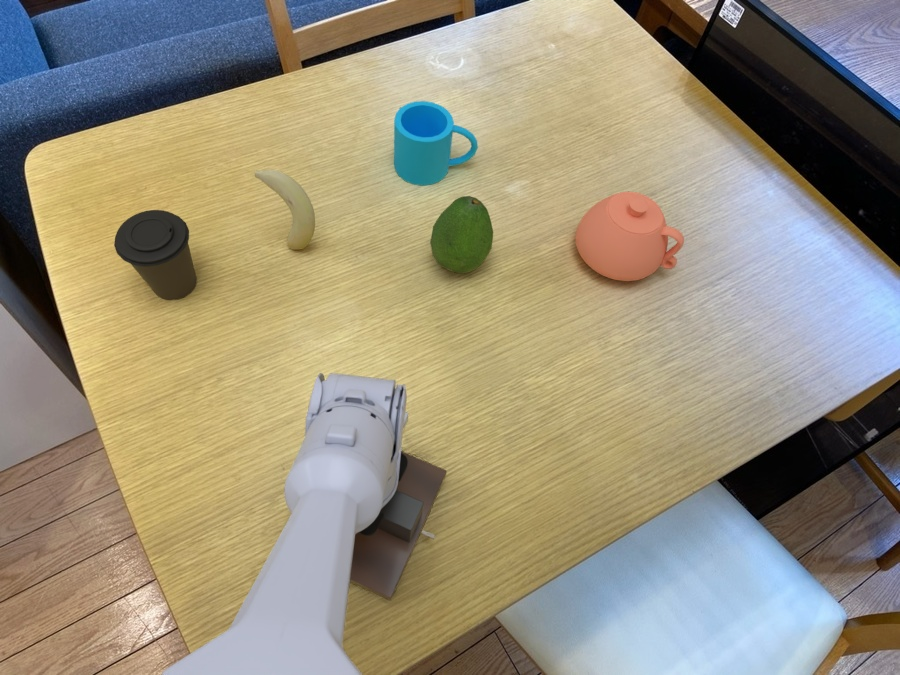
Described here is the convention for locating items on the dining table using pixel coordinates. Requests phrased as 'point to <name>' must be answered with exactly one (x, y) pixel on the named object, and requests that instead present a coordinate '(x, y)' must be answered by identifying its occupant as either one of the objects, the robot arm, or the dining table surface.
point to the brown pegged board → (387, 554)
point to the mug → (426, 143)
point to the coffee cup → (158, 252)
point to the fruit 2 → (462, 235)
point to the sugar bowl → (626, 237)
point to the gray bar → (401, 516)
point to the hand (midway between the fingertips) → (367, 504)
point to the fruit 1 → (292, 206)
